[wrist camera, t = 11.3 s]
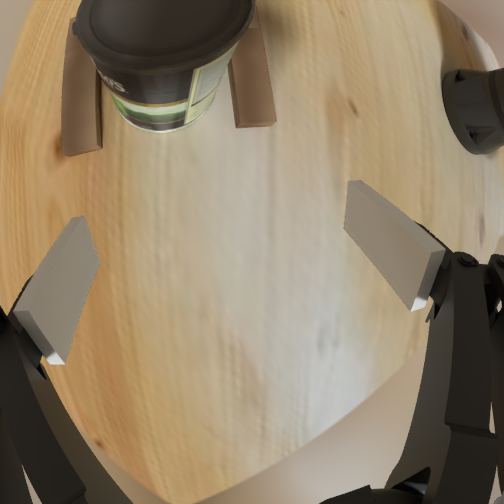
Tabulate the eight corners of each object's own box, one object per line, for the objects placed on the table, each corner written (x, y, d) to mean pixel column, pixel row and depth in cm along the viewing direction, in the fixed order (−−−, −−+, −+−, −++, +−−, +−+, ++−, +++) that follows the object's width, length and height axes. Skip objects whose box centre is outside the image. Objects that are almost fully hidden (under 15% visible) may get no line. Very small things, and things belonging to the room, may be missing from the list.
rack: (249, 5, 24) (258, -12, 21) (270, 126, 27) (282, 116, 24) (74, 27, 20) (66, 11, 16) (69, 157, 23) (56, 150, 19)
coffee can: (135, 152, 24) (98, 103, 11) (102, 69, 22) (64, -14, 8) (234, 110, 26) (285, 39, 13) (195, 32, 24) (217, -60, 10)
